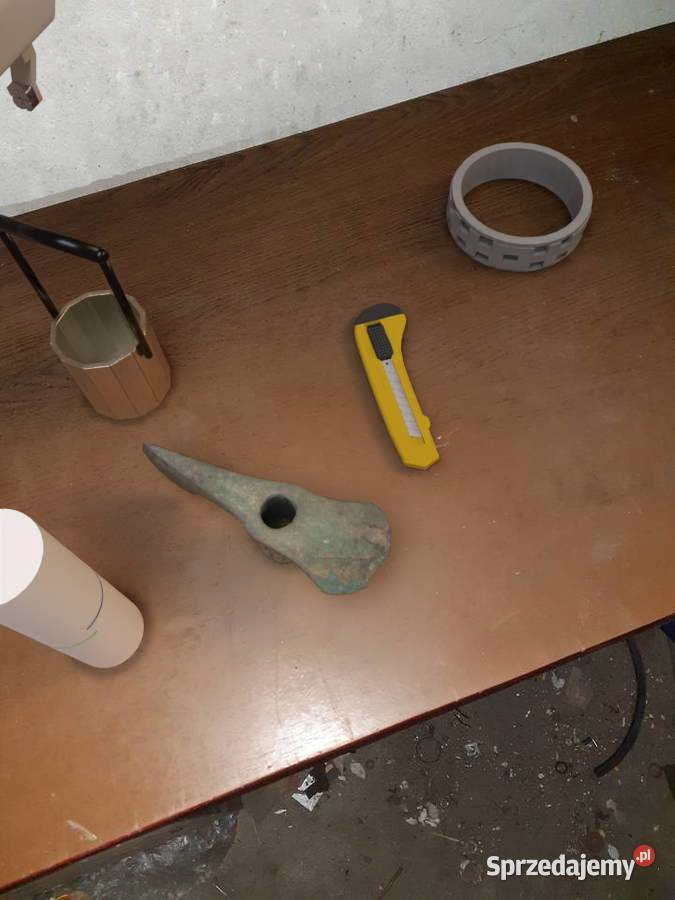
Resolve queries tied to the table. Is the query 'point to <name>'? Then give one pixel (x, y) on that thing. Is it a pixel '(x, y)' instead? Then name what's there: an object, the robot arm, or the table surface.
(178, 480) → the axe head
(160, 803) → the table surface
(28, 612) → the cylindrical container
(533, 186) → the table surface
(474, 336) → the table surface
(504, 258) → the ring
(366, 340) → the utility knife
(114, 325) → the bucket
